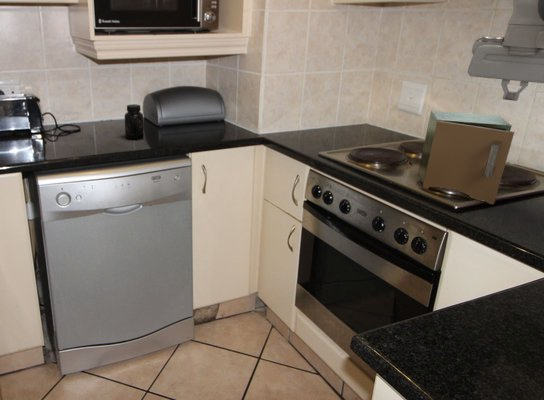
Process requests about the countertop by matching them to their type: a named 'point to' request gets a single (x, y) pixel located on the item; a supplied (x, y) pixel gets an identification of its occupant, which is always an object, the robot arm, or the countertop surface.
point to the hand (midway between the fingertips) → (510, 99)
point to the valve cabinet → (458, 118)
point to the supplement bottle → (134, 123)
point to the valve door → (468, 159)
